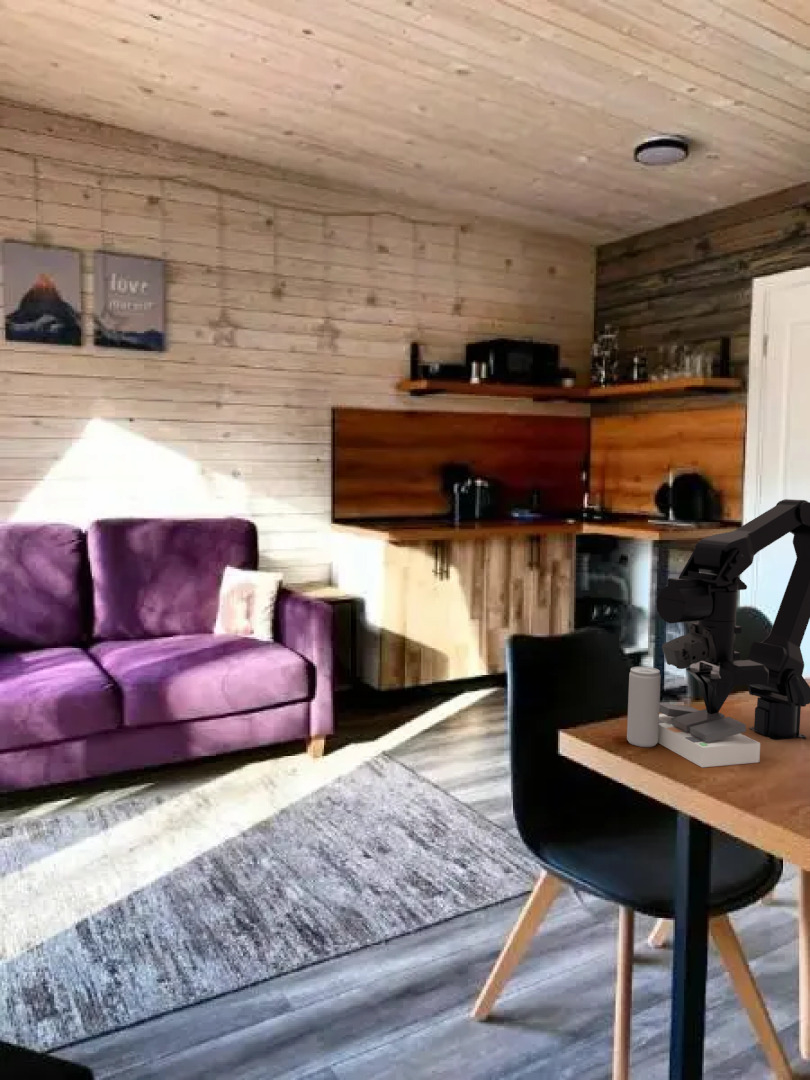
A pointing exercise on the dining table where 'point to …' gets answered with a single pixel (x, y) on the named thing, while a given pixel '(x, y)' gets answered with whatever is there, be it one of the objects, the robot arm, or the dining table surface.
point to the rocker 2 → (695, 719)
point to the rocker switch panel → (707, 746)
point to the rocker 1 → (675, 709)
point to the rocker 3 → (717, 729)
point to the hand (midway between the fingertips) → (712, 715)
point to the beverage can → (643, 706)
